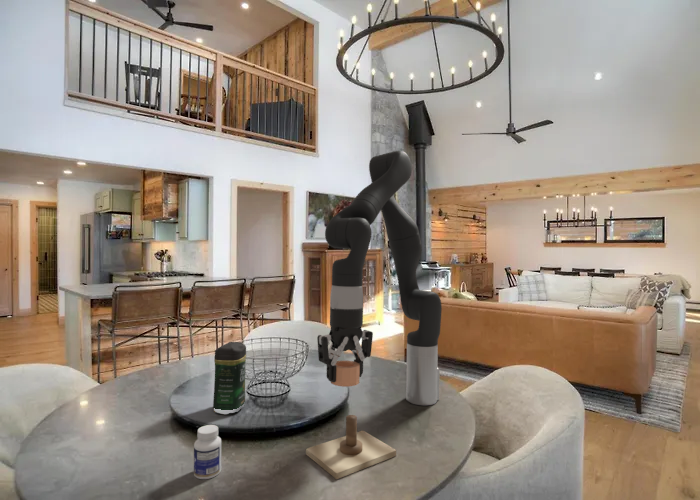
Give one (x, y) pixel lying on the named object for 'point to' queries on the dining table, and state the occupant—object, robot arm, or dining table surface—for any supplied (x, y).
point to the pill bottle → (207, 452)
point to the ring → (347, 373)
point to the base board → (348, 464)
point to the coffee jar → (229, 376)
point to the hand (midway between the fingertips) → (344, 378)
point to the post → (351, 438)
